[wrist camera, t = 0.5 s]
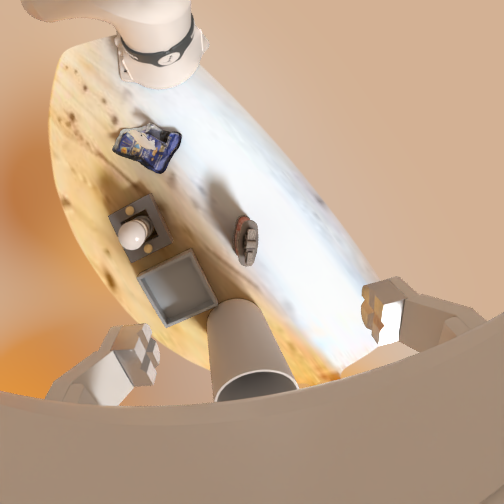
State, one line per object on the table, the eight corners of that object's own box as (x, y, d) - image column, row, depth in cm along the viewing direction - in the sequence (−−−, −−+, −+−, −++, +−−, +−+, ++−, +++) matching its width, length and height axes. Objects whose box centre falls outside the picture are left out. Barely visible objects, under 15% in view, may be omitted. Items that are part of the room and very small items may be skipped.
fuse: (127, 221, 51) (113, 229, 42) (147, 211, 51) (136, 217, 42) (137, 242, 52) (125, 254, 43) (157, 232, 53) (149, 242, 44)
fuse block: (112, 214, 50) (106, 216, 47) (151, 193, 51) (148, 194, 47) (134, 259, 53) (130, 264, 50) (173, 239, 54) (171, 243, 50)
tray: (139, 273, 54) (136, 278, 51) (191, 248, 55) (191, 251, 52) (167, 321, 57) (165, 328, 54) (217, 299, 58) (218, 305, 55)
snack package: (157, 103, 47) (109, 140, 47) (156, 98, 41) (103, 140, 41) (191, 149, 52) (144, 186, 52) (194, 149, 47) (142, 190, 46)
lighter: (235, 214, 55) (242, 221, 45) (252, 216, 55) (263, 223, 46) (231, 255, 56) (238, 270, 47) (248, 255, 57) (258, 271, 48)
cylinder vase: (195, 327, 59) (196, 409, 35) (232, 285, 58) (254, 354, 34) (238, 355, 62) (260, 436, 39) (275, 318, 62) (316, 390, 38)
